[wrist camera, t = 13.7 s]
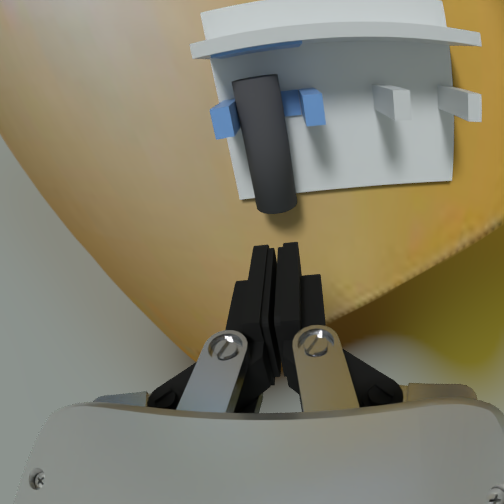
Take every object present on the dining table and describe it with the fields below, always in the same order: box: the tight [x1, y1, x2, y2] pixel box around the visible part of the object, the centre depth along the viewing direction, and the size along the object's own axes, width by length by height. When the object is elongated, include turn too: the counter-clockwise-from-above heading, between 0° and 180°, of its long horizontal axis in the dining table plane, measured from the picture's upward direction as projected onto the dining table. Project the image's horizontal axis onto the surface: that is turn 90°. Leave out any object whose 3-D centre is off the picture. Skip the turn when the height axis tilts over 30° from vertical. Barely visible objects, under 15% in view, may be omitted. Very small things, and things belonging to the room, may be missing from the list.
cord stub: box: [232, 74, 297, 214], centre depth 23 cm, size 10×3×3 cm, turn 10°
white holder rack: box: [190, 0, 482, 200], centre depth 19 cm, size 16×19×6 cm
